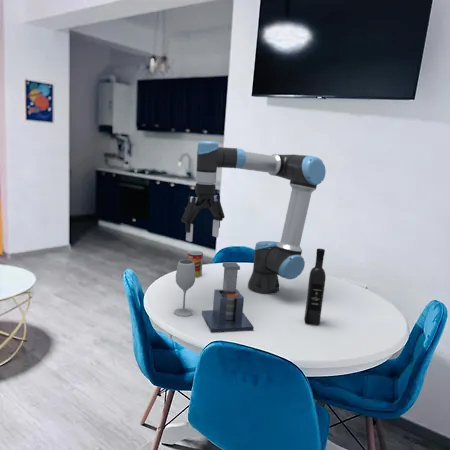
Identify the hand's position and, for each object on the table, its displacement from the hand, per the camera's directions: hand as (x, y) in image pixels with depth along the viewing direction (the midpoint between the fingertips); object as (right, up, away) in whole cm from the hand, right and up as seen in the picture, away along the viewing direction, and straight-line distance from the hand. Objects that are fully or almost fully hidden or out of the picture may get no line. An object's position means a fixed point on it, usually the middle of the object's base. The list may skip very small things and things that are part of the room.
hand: (202, 238), depth 154 cm
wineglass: (-8, -30, +5) cm, 31 cm away
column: (+9, -30, -1) cm, 32 cm away
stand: (+9, -32, 0) cm, 33 cm away
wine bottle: (+43, -34, +5) cm, 55 cm away
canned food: (-7, -21, +51) cm, 55 cm away
